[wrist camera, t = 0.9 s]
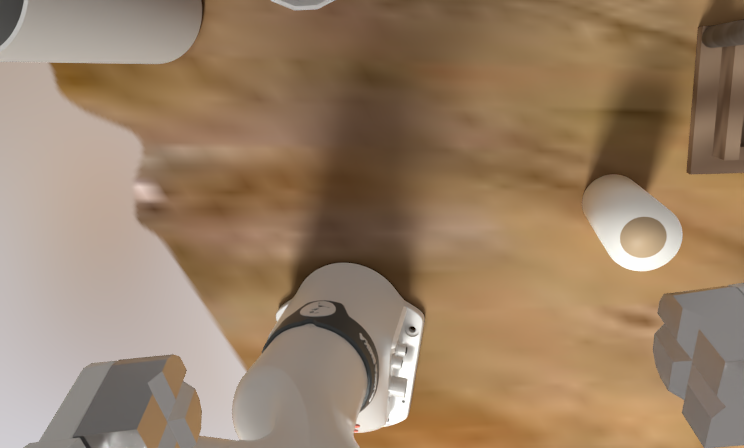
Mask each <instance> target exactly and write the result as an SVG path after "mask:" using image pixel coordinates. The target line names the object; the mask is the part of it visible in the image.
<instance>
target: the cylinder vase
mask: <svg viewBox="0 0 744 448" xmlns="http://www.w3.org/2000/svg"><path fill="white" fill-rule="evenodd" d="M201 21H202V2H201V0H0V62H58V63H124V64H163V63H167V62H171V61H173V60H175V59H177V58H179V57H180V56H182V55H183V54H184V53H185V52H187V51H188V49H189V48H190V47H191V46H192V44H193V43H194V41H195V39H196V37H197V35H198V33H199V30H200V26H201Z"/></svg>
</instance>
